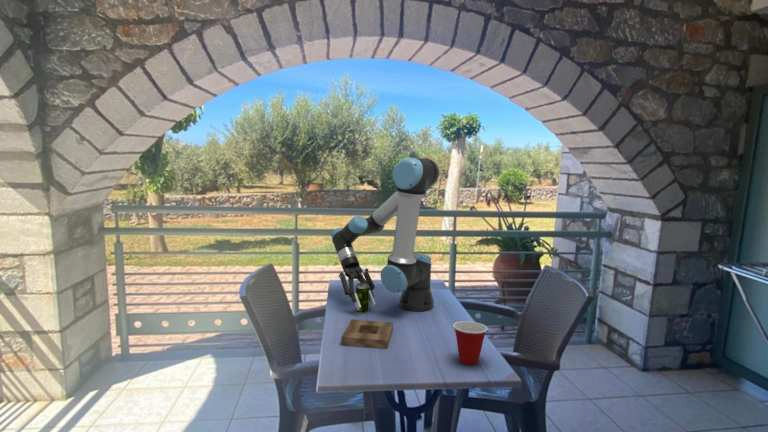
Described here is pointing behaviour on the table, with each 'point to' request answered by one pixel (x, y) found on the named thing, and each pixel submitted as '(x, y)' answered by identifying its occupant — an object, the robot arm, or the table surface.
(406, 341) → the table surface
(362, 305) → the beer can
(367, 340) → the socket block
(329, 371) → the table surface
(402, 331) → the table surface
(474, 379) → the table surface
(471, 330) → the plastic cup
